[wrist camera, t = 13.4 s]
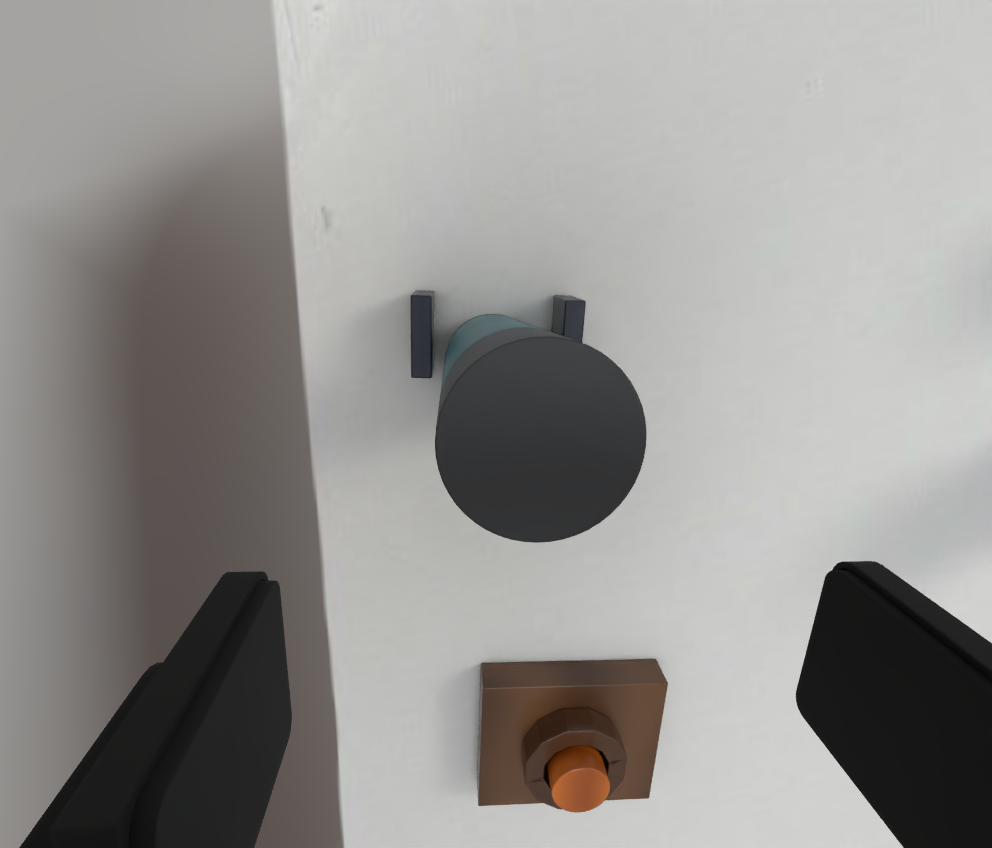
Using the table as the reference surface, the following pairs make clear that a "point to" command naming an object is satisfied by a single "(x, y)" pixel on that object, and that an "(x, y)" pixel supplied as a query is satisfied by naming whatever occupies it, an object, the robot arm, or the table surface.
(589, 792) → the button
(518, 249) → the table surface
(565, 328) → the bracket
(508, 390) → the teal capped cylinder
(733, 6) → the table surface
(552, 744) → the control block
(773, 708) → the table surface
